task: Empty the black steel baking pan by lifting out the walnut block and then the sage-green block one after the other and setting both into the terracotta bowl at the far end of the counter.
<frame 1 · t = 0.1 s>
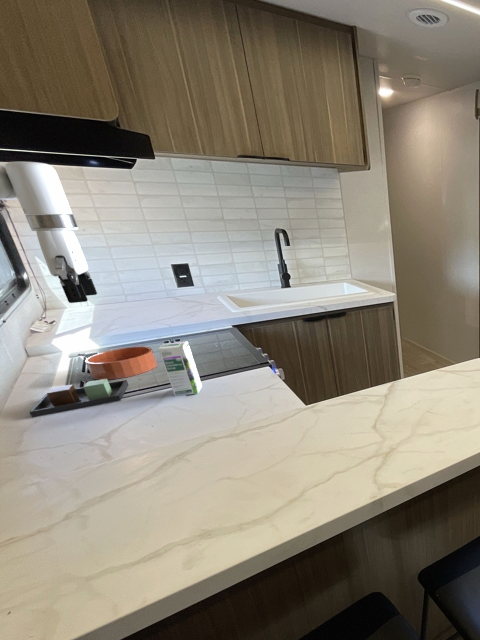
hand: (84, 298, 98), 29 cm above the countertop, tool pointing down, fingers open, 9 cm apart
bowl: (126, 371, 132), on the countertop
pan: (85, 401, 112), on the countertop
walnut block: (66, 402, 110), resting on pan
sage block: (101, 396, 113), resting on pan
syrup box: (189, 392, 117), on the countertop
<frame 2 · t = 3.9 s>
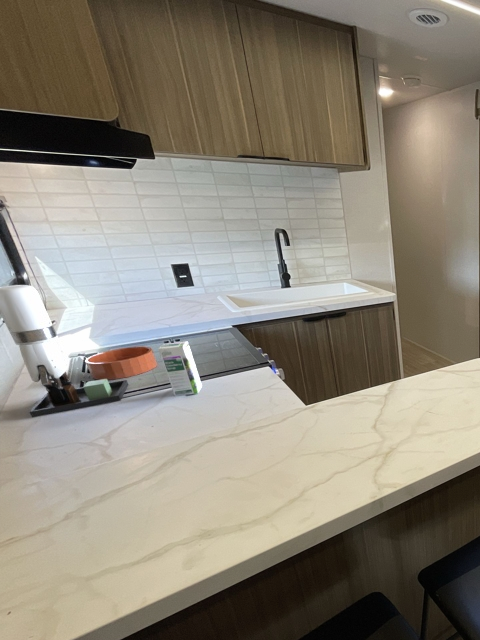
hand: (65, 398, 109), 2 cm above the countertop, tool pointing down, fingers closed on walnut block, 4 cm apart
walnut block: (66, 402, 110), point 1 cm above the countertop, touching gripper, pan
everything else where it was.
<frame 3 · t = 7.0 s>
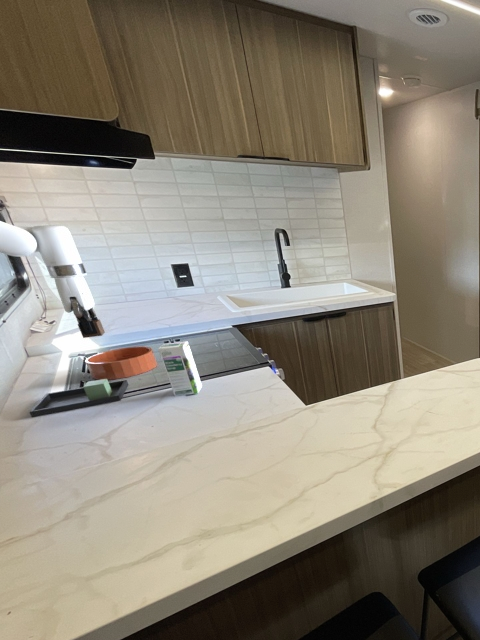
hand: (92, 331, 122), 15 cm above the countertop, tool pointing down, fingers closed on walnut block, 4 cm apart
walnut block: (94, 335, 123), point 14 cm above the countertop, touching gripper
everything else where it was.
when the fingers open (2 cm above the countertop, at t = 11.0 s): walnut block stays where it is, resting on bowl.
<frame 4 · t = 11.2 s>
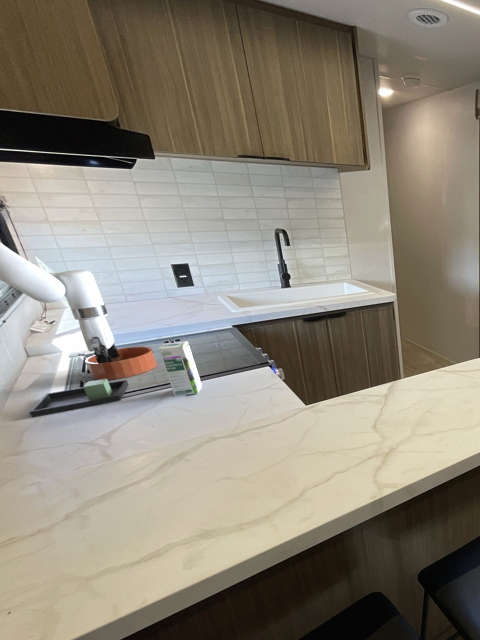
hand: (111, 364, 129), 3 cm above the countertop, tool pointing down, fingers open, 9 cm apart
walnut block: (115, 371, 130), point 1 cm above the countertop, touching bowl
everything else where it was.
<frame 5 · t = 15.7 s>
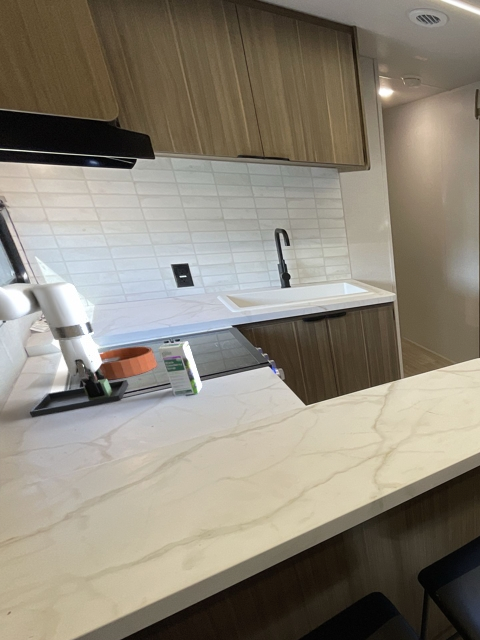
hand: (99, 392, 113), 2 cm above the countertop, tool pointing down, fingers closed on sage block, 4 cm apart
sage block: (101, 396, 113), point 1 cm above the countertop, touching gripper, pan
everything else where it was.
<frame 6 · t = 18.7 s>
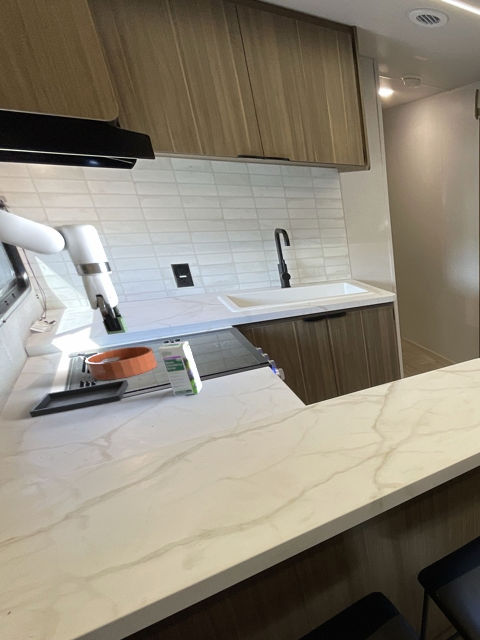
hand: (116, 328, 125), 15 cm above the countertop, tool pointing down, fingers closed on sage block, 4 cm apart
sage block: (118, 332, 125), point 14 cm above the countertop, touching gripper
everything else where it was.
when the fingers open (2 cm above the countertop, at t = 22.2 s): sage block stays where it is, resting on bowl.
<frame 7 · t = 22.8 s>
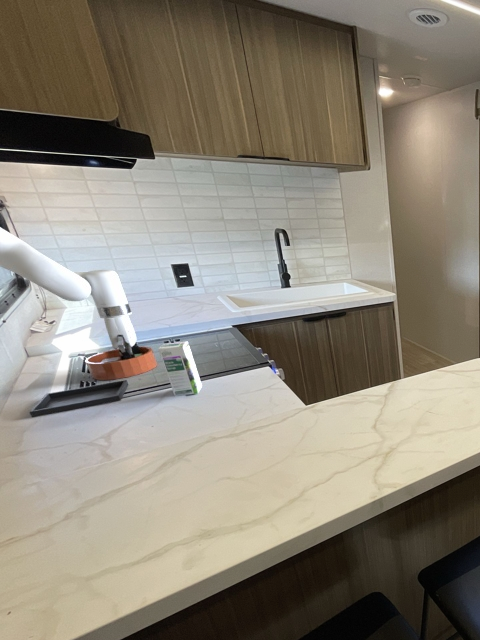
hand: (134, 362, 132), 3 cm above the countertop, tool pointing down, fingers open, 9 cm apart
sage block: (137, 368, 133), point 1 cm above the countertop, touching bowl
everything else where it was.
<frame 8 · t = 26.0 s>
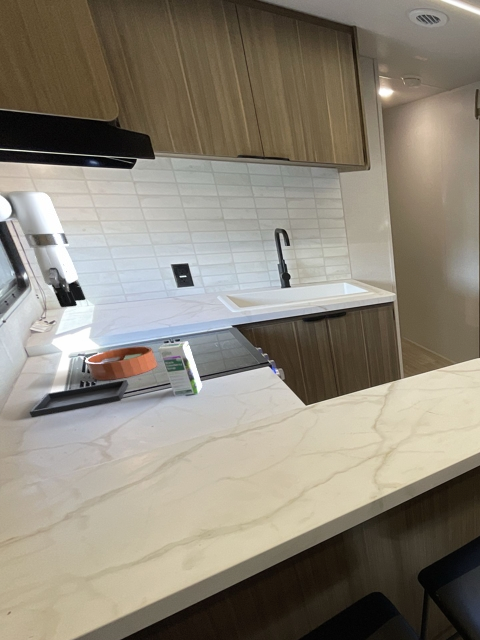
hand: (74, 303, 116), 24 cm above the countertop, tool pointing down, fingers open, 9 cm apart
nothing on the countertop moved.
at the end: walnut block inside the target area in the bowl (2.7 cm from its centre), point 0.6 cm above the bowl's base; sage block inside the target area in the bowl (2.9 cm from its centre), point 0.6 cm above the bowl's base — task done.
